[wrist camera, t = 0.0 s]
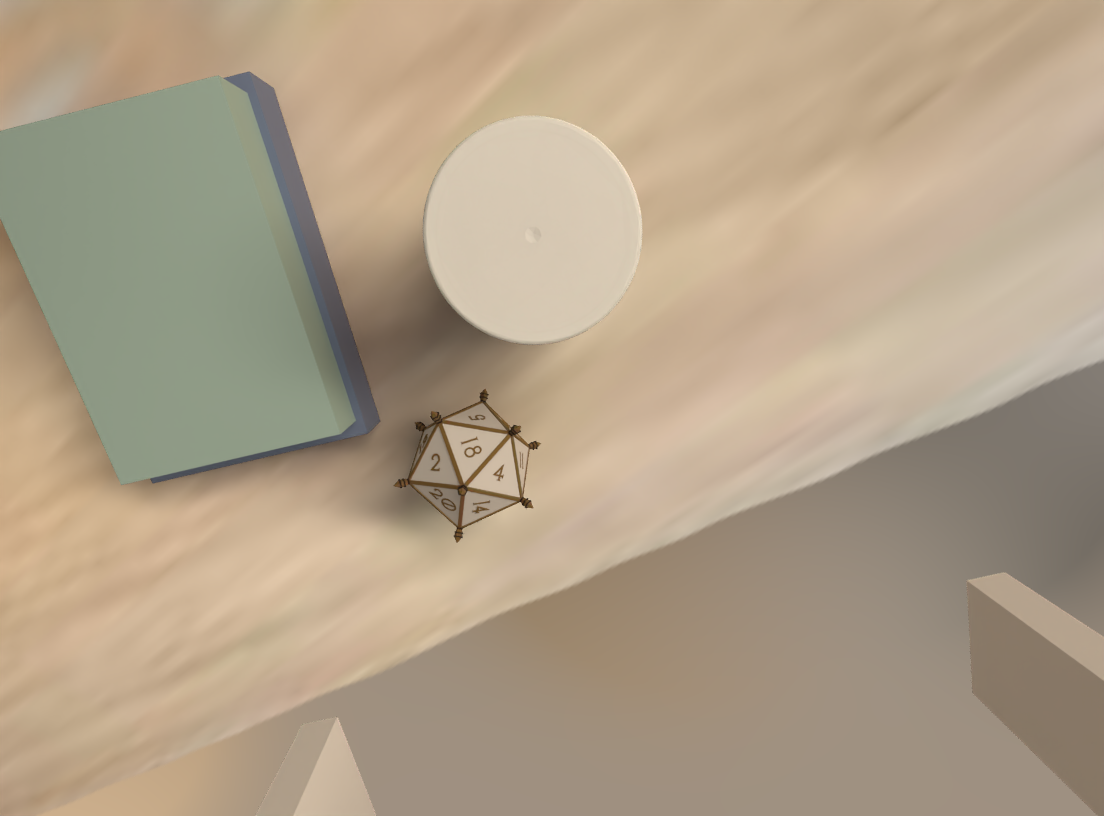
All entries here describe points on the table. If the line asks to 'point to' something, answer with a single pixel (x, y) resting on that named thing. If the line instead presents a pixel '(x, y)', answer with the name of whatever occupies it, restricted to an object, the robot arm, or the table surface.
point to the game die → (470, 464)
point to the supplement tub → (532, 230)
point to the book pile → (185, 278)
